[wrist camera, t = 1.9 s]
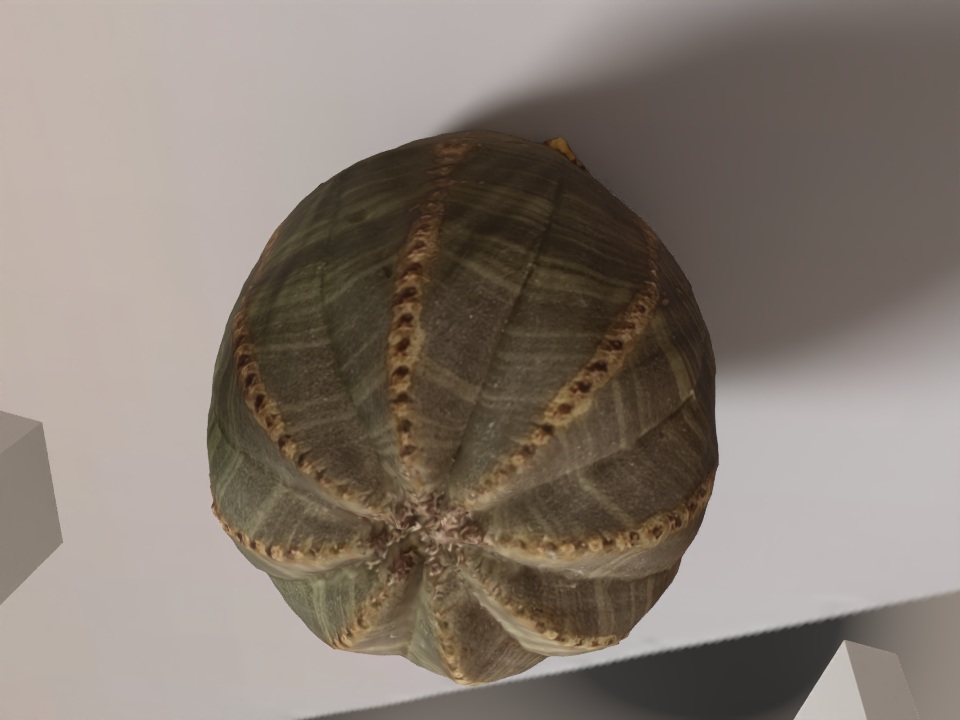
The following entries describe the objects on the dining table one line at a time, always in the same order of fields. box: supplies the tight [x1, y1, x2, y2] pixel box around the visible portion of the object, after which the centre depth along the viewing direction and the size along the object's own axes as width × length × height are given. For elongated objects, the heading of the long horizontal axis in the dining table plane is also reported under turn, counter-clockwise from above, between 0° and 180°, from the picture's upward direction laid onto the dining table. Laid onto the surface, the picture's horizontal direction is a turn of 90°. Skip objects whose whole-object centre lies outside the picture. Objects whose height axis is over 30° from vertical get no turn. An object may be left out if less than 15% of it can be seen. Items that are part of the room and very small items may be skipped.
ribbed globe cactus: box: [207, 130, 719, 686], centre depth 17 cm, size 11×11×12 cm
